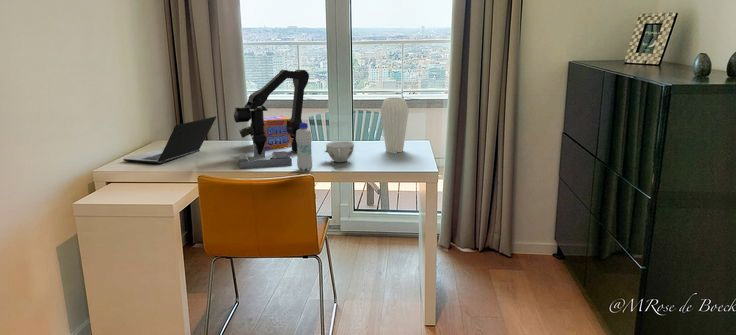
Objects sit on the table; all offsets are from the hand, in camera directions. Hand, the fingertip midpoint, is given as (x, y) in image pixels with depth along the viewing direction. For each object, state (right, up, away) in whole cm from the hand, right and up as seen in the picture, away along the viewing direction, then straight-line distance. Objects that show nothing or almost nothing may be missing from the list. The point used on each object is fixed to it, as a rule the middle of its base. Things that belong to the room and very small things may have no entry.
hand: (259, 153), depth 253 cm
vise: (+6, -5, -15) cm, 17 cm away
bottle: (+25, -8, -27) cm, 38 cm away
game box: (+2, +4, +24) cm, 25 cm away
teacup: (+39, -4, -11) cm, 41 cm away
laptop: (-42, -2, +3) cm, 42 cm away
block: (0, -2, 0) cm, 2 cm away
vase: (+64, +1, +8) cm, 65 cm away
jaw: (+12, -4, -13) cm, 18 cm away
